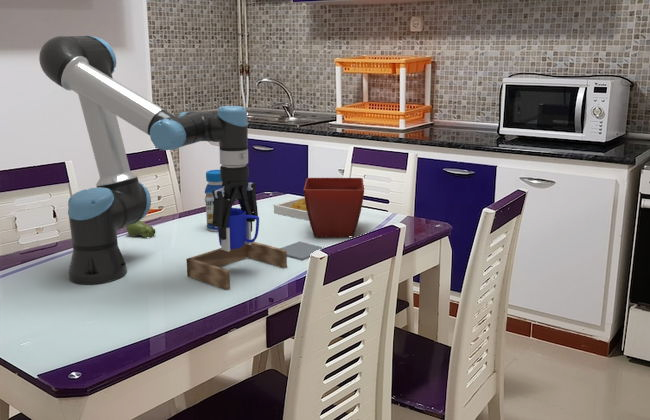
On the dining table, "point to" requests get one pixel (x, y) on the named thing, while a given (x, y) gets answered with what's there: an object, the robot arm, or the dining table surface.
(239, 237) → the mug
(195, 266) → the wooden u-shaped frame
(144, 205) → the robot arm
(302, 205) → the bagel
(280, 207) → the bagel dish
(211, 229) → the beverage bottle
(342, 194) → the plant pot
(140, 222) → the pear
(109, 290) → the dining table surface
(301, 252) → the mat
